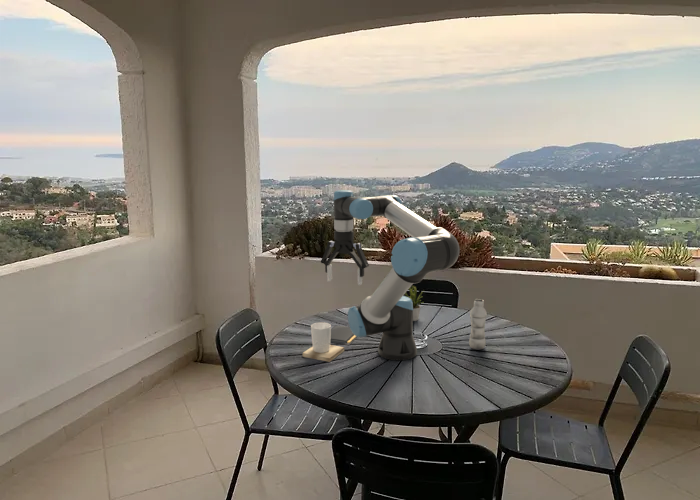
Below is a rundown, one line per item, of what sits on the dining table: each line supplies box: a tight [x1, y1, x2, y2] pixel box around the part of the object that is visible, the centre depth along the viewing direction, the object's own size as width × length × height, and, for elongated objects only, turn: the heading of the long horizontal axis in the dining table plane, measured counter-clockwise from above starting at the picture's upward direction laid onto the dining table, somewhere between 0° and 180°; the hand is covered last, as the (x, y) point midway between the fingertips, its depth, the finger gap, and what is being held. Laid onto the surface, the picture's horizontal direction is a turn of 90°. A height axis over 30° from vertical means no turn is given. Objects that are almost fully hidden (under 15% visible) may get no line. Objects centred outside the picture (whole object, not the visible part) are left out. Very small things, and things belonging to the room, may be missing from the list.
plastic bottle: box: [468, 298, 488, 351], centre depth 212 cm, size 6×7×20 cm
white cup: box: [310, 321, 332, 353], centre depth 210 cm, size 8×8×10 cm
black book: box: [330, 324, 358, 346], centre depth 230 cm, size 20×2×15 cm
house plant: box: [404, 285, 424, 322], centre depth 249 cm, size 14×14×16 cm
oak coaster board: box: [302, 344, 345, 363], centre depth 210 cm, size 12×12×2 cm
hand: (344, 282), depth 213 cm, fingers open, 13 cm apart
